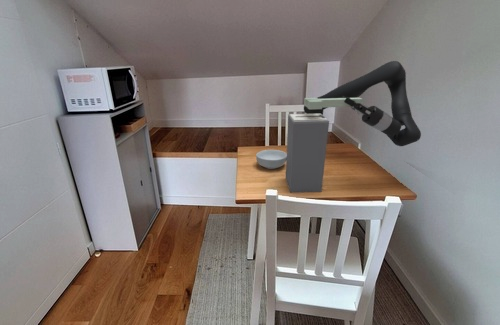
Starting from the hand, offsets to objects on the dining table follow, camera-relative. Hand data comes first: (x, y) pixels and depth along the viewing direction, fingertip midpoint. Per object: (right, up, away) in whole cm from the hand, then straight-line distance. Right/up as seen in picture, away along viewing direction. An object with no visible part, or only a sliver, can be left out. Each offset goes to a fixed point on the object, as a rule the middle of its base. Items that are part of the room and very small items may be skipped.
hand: (344, 98), depth 98 cm
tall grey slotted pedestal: (-14, -37, +16) cm, 42 cm away
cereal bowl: (-26, -28, +37) cm, 53 cm away
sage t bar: (-4, -3, +1) cm, 5 cm away
